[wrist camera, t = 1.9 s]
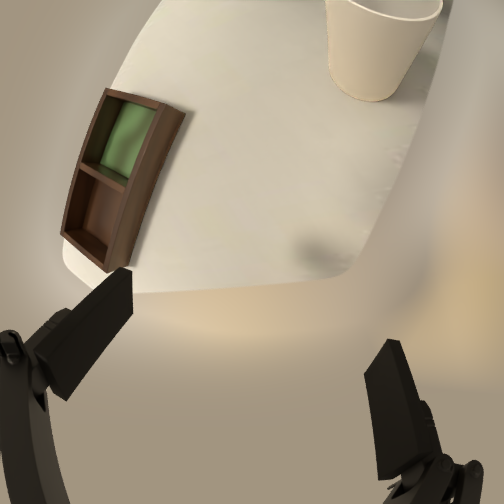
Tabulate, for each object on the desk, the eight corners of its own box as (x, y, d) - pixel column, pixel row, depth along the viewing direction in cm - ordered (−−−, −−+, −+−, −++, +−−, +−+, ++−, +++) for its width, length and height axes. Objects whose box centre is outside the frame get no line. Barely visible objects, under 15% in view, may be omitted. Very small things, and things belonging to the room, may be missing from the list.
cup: (331, 99, 26) (330, 13, 11) (326, 40, 24) (315, -54, 9) (403, 105, 24) (458, 34, 8) (393, 46, 22) (423, -40, 7)
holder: (185, 113, 30) (166, 103, 26) (128, 265, 36) (106, 273, 32) (126, 95, 32) (105, 87, 27) (80, 230, 38) (59, 234, 34)
